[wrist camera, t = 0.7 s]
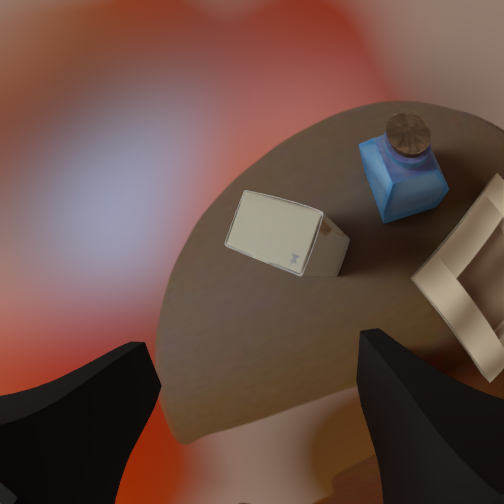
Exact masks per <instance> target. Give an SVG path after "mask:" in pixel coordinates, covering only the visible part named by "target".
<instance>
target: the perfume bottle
mask: <svg viewBox="0 0 504 504" xmlns="http://www.w3.org/2000/svg"><path fill="white" fill-rule="evenodd" d="M359 149H360V153H361V157H362V162H363V167H364V171H365V173H366V176H367V178H368V181H369V184H370V186H371V189H372V192H373V195H374V197H375V200H376V203H377V206H378V209H379V212H380V215H381V218H382V221H383V224H385V223H389V222H392V221H395V220H398V219H401V218H404V217H407V216H410V215H414V214H417V213H420V212H423V211H426V210H429V209H432V208H435V207H437V205H438V204H439V203H440V201H441V200H442V199H443V197H444V196H445V195H446V193H447V192H448V190H449V188H448V185H447V183H446V180H445V178H444V175H443V173H442V171H441V168H440V166H439V164H438V162H437V160H436V157H435V155H434V153H433V151H432V149H431V132H430V129H429V126H428V125H427V124H426V122H425V121H424V120H423V119H421V118H420V117H419V116H417V115H415V114H412V113H407V112H402V113H397V114H395V115H393V116H392V117H391V118H390V119H389V120H388V122H387V124H386V131H385V133H384V135H382V136H379V137H376V138H373V139H370V140H368V141H366V142H363V143H361V144H359Z"/></svg>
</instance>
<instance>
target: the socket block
mask: <svg viewBox="0 0 504 504" xmlns="http://www.w3.org/2000/svg"><path fill="white" fill-rule="evenodd" d="M409 278H410V279H411V281H412V282H413V283H414V284H415V285H416V286H417V288H418V289H419V290H420V291H421V292H422V294H423V295H424V296H425V297H426V299H427V300H428V301H429V302H430V304H431V305H432V306H433V307H434V309H435V310H436V311H437V312H438V314H439V315H440V316H441V318H442V319H443V320H444V321H445V323H446V324H447V325H448V327H449V328H450V329H451V331H452V332H453V334H454V335H455V336H456V338H457V339H458V340H459V342H460V343H461V345H462V346H463V348H464V349H465V350H466V352H467V353H468V355H469V356H470V358H471V359H472V361H473V362H474V364H475V365H476V367H477V368H478V370H479V371H480V373H481V374H482V375H483V376H484V377H485V378H486V379H487V380H488V381H489V382H491V381H492V380H493V379H494V378H495V377H496V376H497V375H498V374H499V373H500V372H501V371H502V370H503V369H504V180H503V179H502V178H501V177H500V176H499V174H498V173H496V175H495V176H494V177H493V178H492V179H491V180H490V181H489V182H488V183H487V184H486V185H485V187H484V188H483V190H482V191H481V192H480V194H479V195H478V197H477V198H476V199H475V201H474V202H473V203H472V205H471V206H470V207H469V209H468V210H467V211H466V213H465V214H464V215H463V217H462V218H461V219H460V220H459V222H458V223H457V224H456V225H455V227H454V228H453V229H452V230H451V232H450V233H449V234H448V235H447V236H446V238H445V239H444V240H443V241H442V242H441V243H440V245H439V246H438V247H437V248H436V249H435V250H434V251H433V253H432V254H431V255H430V256H429V257H428V258H427V259H426V260H425V261H424V263H423V264H422V265H421V266H420V267H419V268H418V269H417V270H416V271H415V272H414V273H413V274H412V275H411V276H410V277H409Z"/></svg>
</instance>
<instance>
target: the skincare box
mask: <svg viewBox="0 0 504 504" xmlns="http://www.w3.org/2000/svg"><path fill="white" fill-rule="evenodd" d="M349 242H350V238H349V237H348V236H347V235H346V234H344V232H343V231H342V230H341V229H340V228H338V227H337V226H336V225H335V224H334V223H333V222H332V221H331V220H330V219H329V218H328V217H327V216H326V215H325V214H324V213H323V212H322V211H320V210H317V209H315V208H312V207H309V206H306V205H303V204H300V203H297V202H293V201H290V200H286V199H282V198H278V197H275V196H271V195H266V194H262V193H257V192H252V191H248V190H245V191H244V192H243V195H242V198H241V200H240V203H239V205H238V208H237V210H236V213H235V216H234V218H233V221H232V224H231V226H230V229H229V232H228V235H227V238H226V240H225V245H226V247H229V248H231V249H233V250H236V251H238V252H241V253H243V254H245V255H248V256H250V257H253V258H255V259H258V260H260V261H263V262H265V263H268V264H270V265H273V266H276V267H278V268H281V269H283V270H286V271H288V272H291V273H294V274H296V275H298V276H309V277H337V275H338V273H339V270H340V268H341V265H342V263H343V260H344V258H345V255H346V252H347V249H348V245H349Z"/></svg>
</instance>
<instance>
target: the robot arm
mask: <svg viewBox="0 0 504 504" xmlns="http://www.w3.org/2000/svg"><path fill="white" fill-rule="evenodd" d="M356 380H357V386H358V391H359V397H360V402H361V407H362V409H363V413H364V416H365V419H366V422H367V426H368V429H369V432H370V436H371V439H372V442H373V446H374V449H375V452H376V456H377V460H378V464H379V469H380V476H381V484H382V492H383V504H504V399H501V398H498V397H495V396H492V395H489V394H486V393H484V392H481V391H479V390H476V389H474V388H472V387H470V386H468V385H466V384H463V383H461V382H459V381H457V380H455V379H453V378H452V377H450V376H448V375H446V374H444V373H443V372H441V371H439V370H438V369H436V368H434V367H433V366H431V365H430V364H428V363H427V362H425V361H424V360H422V359H421V358H419V357H418V356H416V355H415V354H413V353H412V352H411V351H409V350H408V349H406V348H405V347H404V346H402V345H401V344H400V343H398V342H397V341H395V340H394V339H393V338H391V337H390V336H389V335H387V334H386V333H385V332H383V331H382V330H380V329H379V328H376V329H370V330H363V331H360V340H359V355H358V368H357V378H356ZM161 386H162V385H161V383H160V380H159V378H158V375H157V373H156V370H155V368H154V365H153V363H152V360H151V358H150V355H149V352H148V350H147V347H146V344H145V342H129V343H126V344H124V345H122V346H120V347H118V348H116V349H114V350H112V351H110V352H108V353H106V354H105V355H103V356H101V357H99V358H97V359H95V360H94V361H92V362H90V363H88V364H86V365H84V366H82V367H80V368H78V369H76V370H74V371H72V372H70V373H68V374H66V375H64V376H62V377H60V378H58V379H56V380H53V381H51V382H49V383H46V384H43V385H40V386H38V387H35V388H32V389H29V390H25V391H21V392H17V393H13V394H8V395H3V396H0V504H115V499H116V495H117V492H118V488H119V485H120V481H121V478H122V475H123V472H124V469H125V466H126V463H127V461H128V459H129V456H130V454H131V452H132V450H133V448H134V446H135V444H136V442H137V440H138V438H139V436H140V435H141V433H142V431H143V429H144V427H145V425H146V423H147V421H148V419H149V417H150V415H151V413H152V411H153V409H154V407H155V404H156V401H157V399H158V396H159V392H160V389H161Z"/></svg>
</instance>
